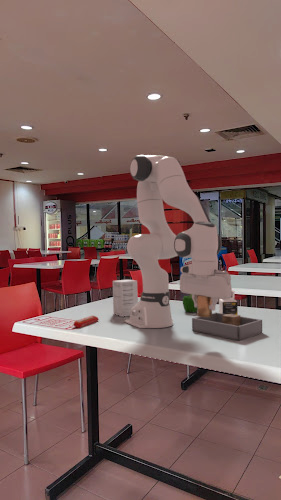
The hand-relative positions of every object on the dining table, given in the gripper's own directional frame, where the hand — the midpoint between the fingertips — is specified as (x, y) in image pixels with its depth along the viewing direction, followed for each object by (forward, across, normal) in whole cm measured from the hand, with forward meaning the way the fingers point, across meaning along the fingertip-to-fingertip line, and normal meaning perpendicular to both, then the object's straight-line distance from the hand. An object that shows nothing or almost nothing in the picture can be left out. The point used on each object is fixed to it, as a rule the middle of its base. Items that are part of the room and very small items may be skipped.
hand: (204, 308), depth 128 cm
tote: (+12, +4, -19) cm, 23 cm away
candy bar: (+14, +56, +12) cm, 59 cm away
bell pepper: (+14, +41, -41) cm, 59 cm away
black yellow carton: (+14, +23, -47) cm, 54 cm away
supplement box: (+14, +60, -14) cm, 63 cm away
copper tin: (+2, 0, 0) cm, 2 cm away
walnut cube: (+12, +5, -23) cm, 26 cm away
